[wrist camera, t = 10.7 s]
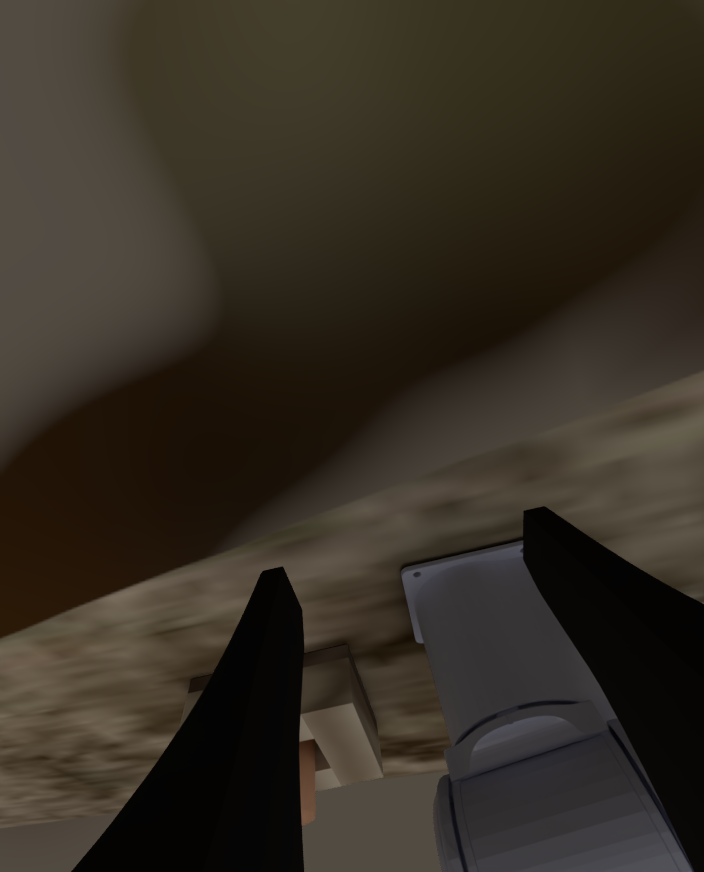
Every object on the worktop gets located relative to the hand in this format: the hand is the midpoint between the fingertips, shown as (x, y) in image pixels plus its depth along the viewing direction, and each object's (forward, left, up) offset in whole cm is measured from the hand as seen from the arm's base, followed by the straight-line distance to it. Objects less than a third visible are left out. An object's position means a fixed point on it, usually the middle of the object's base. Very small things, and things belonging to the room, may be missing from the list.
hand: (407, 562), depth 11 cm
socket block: (+11, +24, -9) cm, 28 cm away
